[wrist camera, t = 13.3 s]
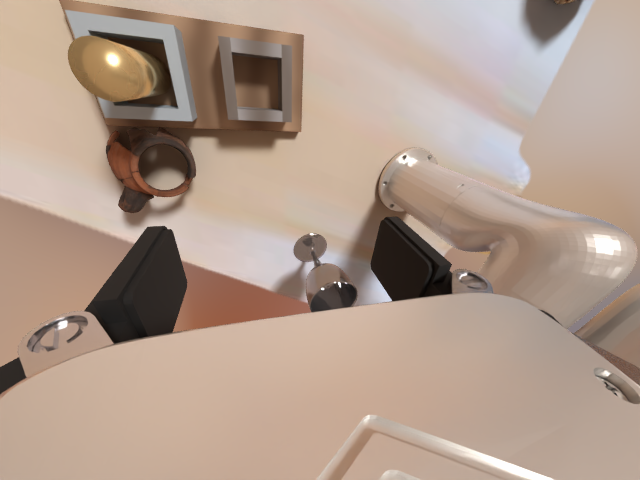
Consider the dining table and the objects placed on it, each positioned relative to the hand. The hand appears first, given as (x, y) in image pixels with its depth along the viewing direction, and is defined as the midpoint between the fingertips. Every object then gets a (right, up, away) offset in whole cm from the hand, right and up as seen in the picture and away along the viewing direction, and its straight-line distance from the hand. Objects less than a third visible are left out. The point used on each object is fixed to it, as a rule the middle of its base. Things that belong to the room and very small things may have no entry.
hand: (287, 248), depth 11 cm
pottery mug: (-22, +11, +22) cm, 33 cm away
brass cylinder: (-18, +19, +16) cm, 31 cm away
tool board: (-13, +21, +19) cm, 31 cm away
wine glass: (0, -1, +38) cm, 38 cm away
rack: (-18, +19, +16) cm, 31 cm away
